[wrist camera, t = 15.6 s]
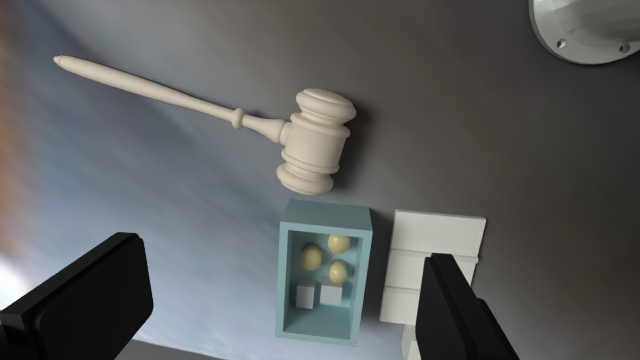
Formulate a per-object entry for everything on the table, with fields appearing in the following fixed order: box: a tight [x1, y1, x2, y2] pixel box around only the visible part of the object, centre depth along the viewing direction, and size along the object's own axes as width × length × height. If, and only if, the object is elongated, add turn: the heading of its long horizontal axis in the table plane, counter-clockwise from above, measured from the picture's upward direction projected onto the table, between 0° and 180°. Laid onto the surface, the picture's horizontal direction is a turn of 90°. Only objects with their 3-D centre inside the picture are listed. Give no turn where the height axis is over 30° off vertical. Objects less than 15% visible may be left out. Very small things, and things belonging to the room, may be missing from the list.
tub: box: [275, 200, 373, 347], centre depth 37 cm, size 9×14×6 cm, turn 175°
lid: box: [379, 209, 486, 360], centre depth 38 cm, size 10×19×4 cm, turn 176°
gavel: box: [54, 55, 356, 196], centre depth 34 cm, size 10×6×32 cm
